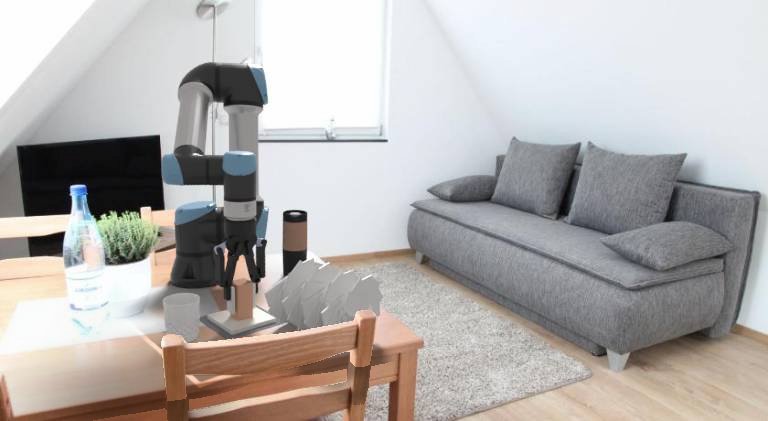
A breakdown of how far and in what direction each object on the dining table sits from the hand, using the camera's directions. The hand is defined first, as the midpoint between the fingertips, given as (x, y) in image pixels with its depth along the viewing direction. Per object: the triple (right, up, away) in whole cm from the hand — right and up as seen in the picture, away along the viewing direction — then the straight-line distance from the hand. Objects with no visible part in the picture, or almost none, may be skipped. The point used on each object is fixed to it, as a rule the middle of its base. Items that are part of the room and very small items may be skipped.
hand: (241, 309), depth 137 cm
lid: (0, -3, +1) cm, 3 cm away
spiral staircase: (+21, -6, -4) cm, 22 cm away
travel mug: (+7, +4, +39) cm, 40 cm away
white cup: (-11, -6, -9) cm, 16 cm away
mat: (0, -4, +1) cm, 4 cm away
